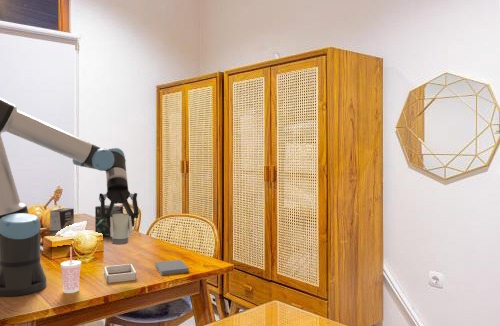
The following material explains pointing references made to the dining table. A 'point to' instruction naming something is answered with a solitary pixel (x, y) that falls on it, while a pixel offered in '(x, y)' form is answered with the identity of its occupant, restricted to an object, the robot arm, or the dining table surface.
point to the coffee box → (60, 219)
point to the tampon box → (101, 224)
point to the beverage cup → (71, 274)
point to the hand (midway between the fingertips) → (121, 234)
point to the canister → (120, 229)
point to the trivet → (171, 267)
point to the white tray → (119, 276)
